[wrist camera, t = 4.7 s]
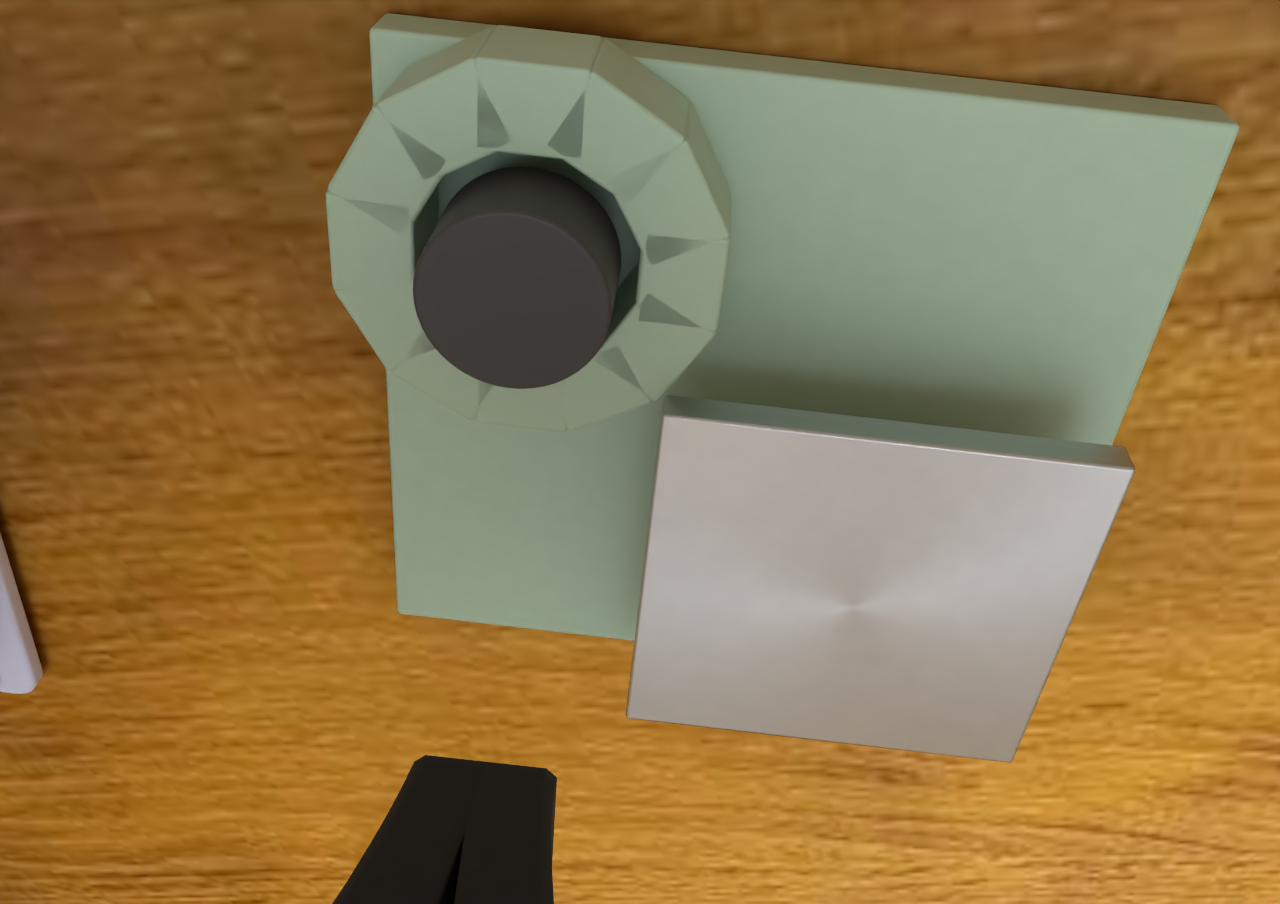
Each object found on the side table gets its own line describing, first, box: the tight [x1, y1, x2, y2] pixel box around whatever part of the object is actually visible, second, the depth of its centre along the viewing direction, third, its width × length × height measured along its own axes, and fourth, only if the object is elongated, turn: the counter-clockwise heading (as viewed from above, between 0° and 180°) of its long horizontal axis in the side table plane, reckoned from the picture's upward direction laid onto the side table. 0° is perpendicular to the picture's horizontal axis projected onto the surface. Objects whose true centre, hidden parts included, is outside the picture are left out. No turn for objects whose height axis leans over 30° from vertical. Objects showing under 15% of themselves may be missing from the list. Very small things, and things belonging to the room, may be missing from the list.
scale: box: [325, 13, 1239, 641], centre depth 18 cm, size 12×11×2 cm
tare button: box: [413, 166, 621, 389], centre depth 15 cm, size 3×3×2 cm
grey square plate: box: [626, 395, 1135, 762], centre depth 18 cm, size 7×6×1 cm
